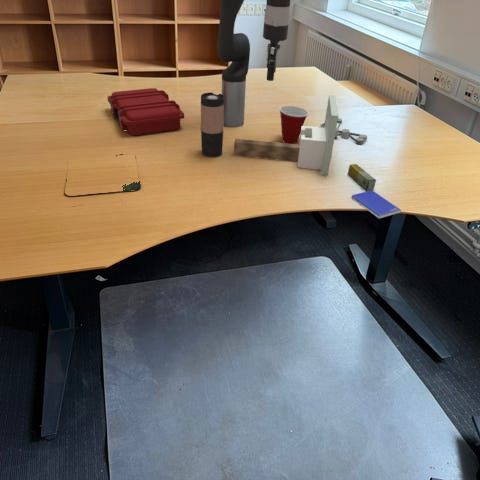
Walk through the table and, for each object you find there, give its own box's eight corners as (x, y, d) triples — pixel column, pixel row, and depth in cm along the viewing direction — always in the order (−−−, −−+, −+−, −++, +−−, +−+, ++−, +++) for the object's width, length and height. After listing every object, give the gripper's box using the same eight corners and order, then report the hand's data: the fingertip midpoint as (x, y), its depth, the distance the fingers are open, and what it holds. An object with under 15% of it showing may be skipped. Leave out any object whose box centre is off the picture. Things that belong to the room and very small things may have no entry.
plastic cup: (307, 147, 162) (312, 115, 155) (278, 146, 161) (281, 114, 154) (302, 135, 170) (306, 104, 163) (274, 135, 170) (277, 104, 163)
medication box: (373, 191, 137) (377, 180, 134) (366, 192, 136) (369, 180, 134) (353, 174, 146) (356, 163, 144) (346, 175, 145) (349, 163, 143)
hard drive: (401, 209, 126) (372, 189, 135) (379, 215, 123) (351, 194, 132) (400, 213, 127) (371, 194, 136) (378, 220, 124) (350, 199, 133)
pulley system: (335, 150, 163) (371, 144, 166) (336, 138, 160) (373, 132, 164) (304, 125, 184) (336, 121, 188) (305, 114, 182) (338, 110, 185)
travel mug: (206, 159, 150) (206, 100, 138) (197, 150, 155) (196, 93, 144) (226, 155, 153) (228, 98, 141) (217, 147, 158) (218, 91, 147)
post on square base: (232, 158, 152) (233, 138, 148) (235, 149, 157) (236, 131, 153) (306, 165, 150) (308, 145, 145) (306, 156, 155) (308, 137, 151)
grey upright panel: (297, 172, 144) (305, 113, 133) (298, 148, 161) (305, 92, 149) (327, 175, 144) (338, 115, 132) (325, 150, 160) (335, 95, 148)
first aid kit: (186, 131, 170) (186, 109, 165) (127, 139, 161) (124, 116, 156) (161, 104, 193) (160, 85, 188) (107, 111, 184) (105, 90, 179)
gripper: (266, 16, 139) (261, 69, 149) (261, 25, 128) (257, 82, 138) (289, 18, 139) (283, 71, 149) (287, 28, 127) (281, 84, 137)
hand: (270, 76), depth 143 cm, fingers open, 8 cm apart
